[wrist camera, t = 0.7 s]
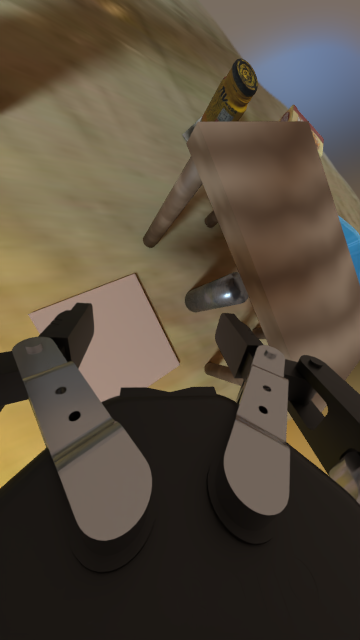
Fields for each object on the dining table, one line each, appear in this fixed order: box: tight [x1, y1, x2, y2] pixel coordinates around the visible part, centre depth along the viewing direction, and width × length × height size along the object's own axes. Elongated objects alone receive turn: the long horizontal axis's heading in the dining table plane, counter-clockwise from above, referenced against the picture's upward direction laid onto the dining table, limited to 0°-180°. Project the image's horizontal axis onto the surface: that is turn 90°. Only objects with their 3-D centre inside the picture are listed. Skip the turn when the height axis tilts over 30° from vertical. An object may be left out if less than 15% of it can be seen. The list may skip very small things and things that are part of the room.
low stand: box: [143, 121, 360, 412], centre depth 30 cm, size 30×18×20 cm, turn 28°
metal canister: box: [185, 272, 248, 312], centre depth 32 cm, size 4×4×12 cm
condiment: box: [183, 59, 258, 141], centre depth 36 cm, size 7×8×12 cm
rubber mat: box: [28, 274, 180, 402], centre depth 30 cm, size 18×16×1 cm
